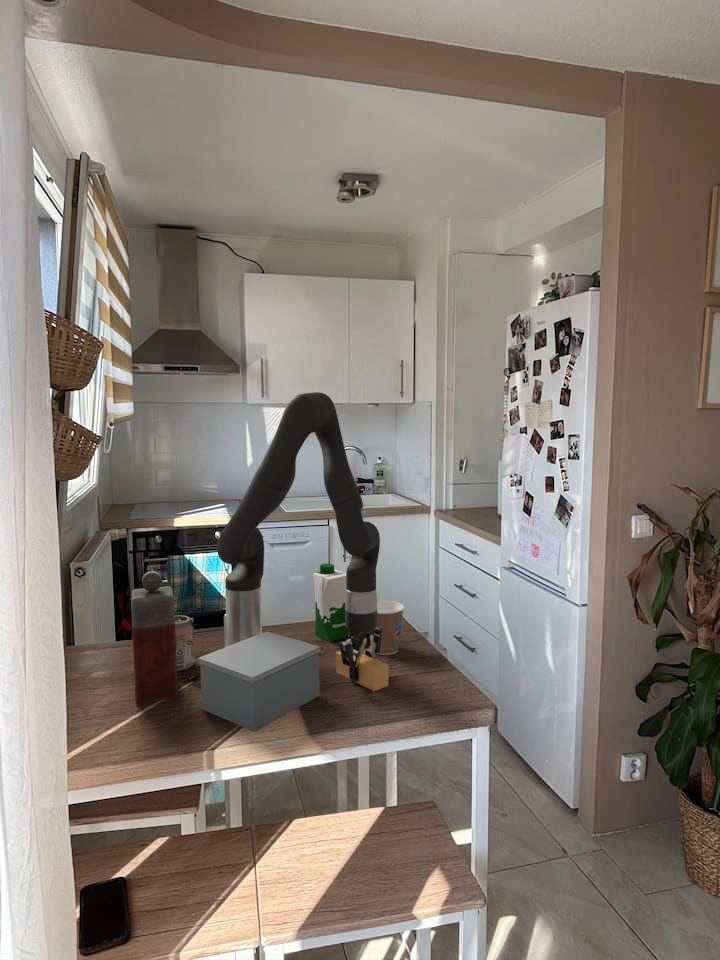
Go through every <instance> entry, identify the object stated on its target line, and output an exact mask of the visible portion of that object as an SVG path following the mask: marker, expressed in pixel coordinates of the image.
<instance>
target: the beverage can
mask: <svg viewBox="0 0 720 960" xmlns="http://www.w3.org/2000/svg"><path fill="white" fill-rule="evenodd" d="M194 621H195V620H194V617H189V616H187V615H179V614H178V615H175V635H176V661H177V672H182V671H187V670H188V669H190V668H192V666H194V664H195V661H196V660H195V658H196V657H195V635H194V634H195V633H194V631H195V630H194V626H193V623H194Z"/></svg>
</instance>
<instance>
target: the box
mask: <svg viewBox="0 0 720 960" xmlns="http://www.w3.org/2000/svg"><path fill="white" fill-rule="evenodd" d="M199 667H200V668H199V669H200V692H201V693H200V695H201V710H202V711H205V712H207V713H210V714H211V715H214V716H217V717H219V718H222V719H223V720H226V721H228V722H230V723H233V724H235V725H238V726H240V727H242V728H245V729H247V730H249V731H252V732H256V731H257V730H259V729H261V728H263V727H264V726H267V725H269V724H270V723H272V722H274V721H276V720H278V719H279V718H282V717H283V716H285V715H287V714H289V713H291V712H293V711H294V710H297V709H298V708H300V707H302V706H303V705H305V704H307V703H309V702H311V701H313V700H315V699H316V698H319V697H320V652H319V653H316V654H314V655H312V656H310V657H308V658H306V659H304V660H301V661H299V662H297V663H295V664H293V665H291V666H288V667H286V668H284V669H282V670H280V671H278V672H276V673H273V674H271V675H269V676H267V677H265V678H263V679H260V680H258V681H256V682H254V683H251V682H248V681H245V680H242V679H240V678H237V677H234V676H231V675H229V674H226V673H223V672H220V671H218V670H215V669H212V668H209V667H207V666H204V665H201V664H199Z"/></svg>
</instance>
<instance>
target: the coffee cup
mask: <svg viewBox="0 0 720 960" xmlns="http://www.w3.org/2000/svg"><path fill="white" fill-rule="evenodd" d="M404 609H405V606H404V604H402V603H400V602H397V601H393V600H377V627H376V628H380V629H382V638H381V646H380V652H379V654H380V655H379V654H377V653H376V655H379V656H390V655H395V654H396V653H397V652H399V651H398V650H399V646H400V638H401V630H402V623H403V613H404ZM374 645H375V648H376V643H375V642H374Z"/></svg>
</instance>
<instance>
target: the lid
mask: <svg viewBox="0 0 720 960" xmlns="http://www.w3.org/2000/svg"><path fill="white" fill-rule="evenodd" d="M320 652H321V646H320V645H315V644H312V643H308V642H305V641H302V640H298V639H295V638H291V637H287V636H284V635H281V634H277V633H274V632H271V631H264V632H262V633H261V634H258V635H256V636H253V637H251V638H248V639H246V640H243V641H240V642H238V643H235V644H233V645H230V646H228V647H225V646H224V647H223V648H221V649H218V650H214V651H212V652H210V653H207V654H205V655H202V656H199V657H198V658H197V663H198V664H199V665H200V664H201V665H204V666H207V667H209V668H212V669H215V670H218V671H220V672H223V673H226V674H229V675H231V676H234V677H237V678H240V679H242V680H245V681H248V682H251V683H254V682H256V681H258V680H260V679H263V678H265V677H267V676H269V675H271V674H273V673H276V672H278V671H280V670H282V669H284V668H286V667H288V666H291V665H293V664H295V663H297V662H299V661H301V660H304V659H306V658H308V657H310V656H312V655H314V654H316V653H319V654H320Z"/></svg>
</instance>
